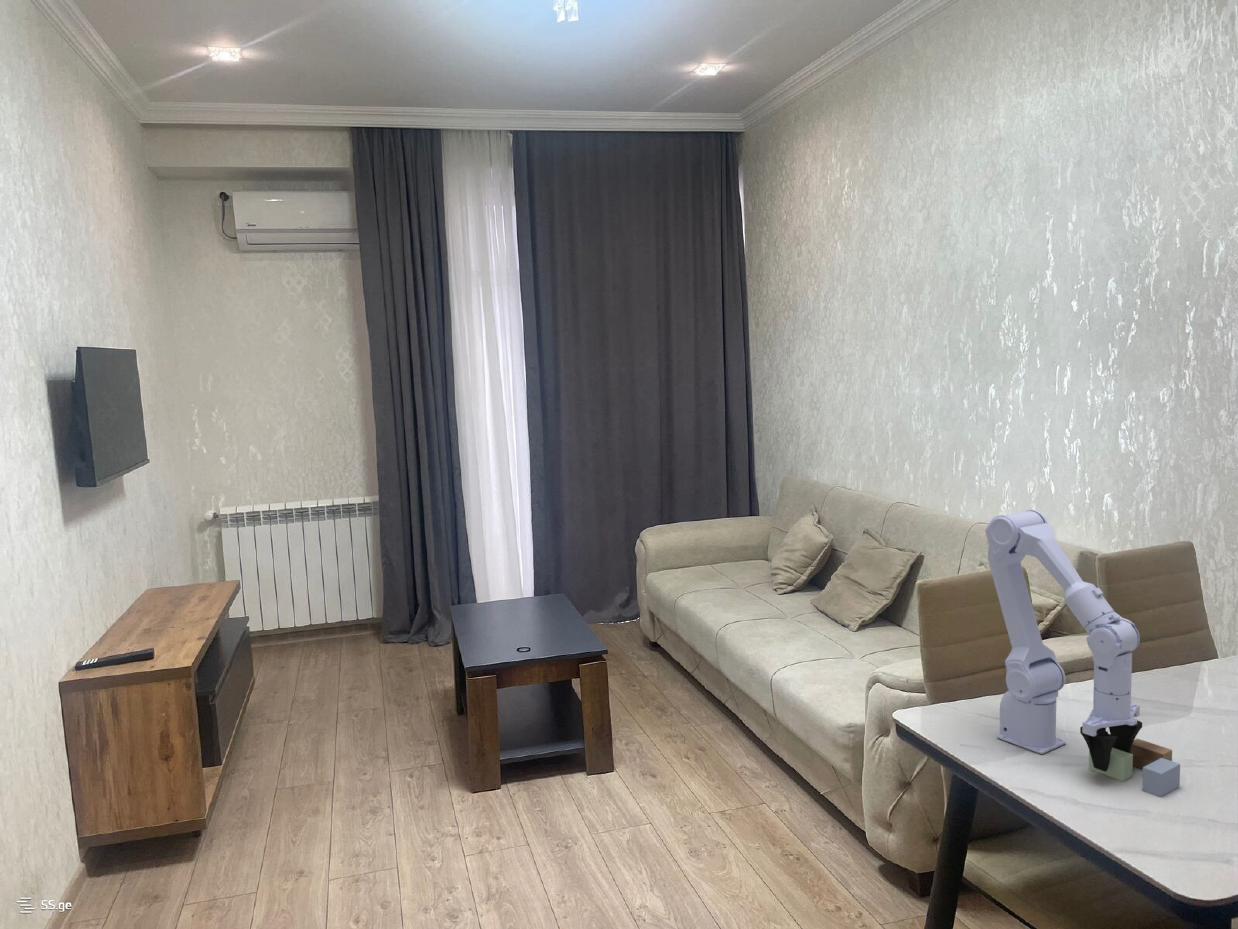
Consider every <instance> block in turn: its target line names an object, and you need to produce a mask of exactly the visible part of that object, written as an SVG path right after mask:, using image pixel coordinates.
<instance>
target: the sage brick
mask: <svg viewBox="0 0 1238 929" xmlns="http://www.w3.org/2000/svg"><path fill="white" fill-rule="evenodd" d="M1088 751H1089V750H1088ZM1133 767H1134V766H1133V754H1130V753H1127V752H1124V751H1121V750H1118V749H1115V748H1112V751H1111V755H1110V762H1109V767H1108V770H1107V771H1102V770H1099V769H1096V768H1094V766H1093V762H1092V758H1091V754H1090V751H1089V752H1088V770H1091V771H1093V772H1096V773H1099V774H1101V775H1104V776H1107V777H1110V778H1113V779H1114V780H1118V781H1121V782H1124V781H1127V780H1129V779H1130V778H1133V769H1134V768H1133Z"/></svg>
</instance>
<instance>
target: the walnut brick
mask: <svg viewBox="0 0 1238 929" xmlns="http://www.w3.org/2000/svg"><path fill="white" fill-rule="evenodd" d="M1130 754H1133V767H1135V768H1137V769H1141V770H1143V767H1145V766H1147V765H1149V764H1150V763H1152V762H1154V761H1156V760H1158V759H1160V758H1164V759H1167V760H1170V761H1173V749H1171V748H1168V747H1164V746H1161V745H1159V744H1155V743H1153V742H1149V741H1147V740H1144V739H1143V740H1142V739H1140V738H1135V739H1134V741H1133V744H1132V747H1131V750H1130Z"/></svg>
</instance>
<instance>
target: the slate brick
mask: <svg viewBox="0 0 1238 929" xmlns="http://www.w3.org/2000/svg"><path fill="white" fill-rule="evenodd" d="M1180 779H1181V763H1179V762H1174V761H1173V760H1172V761H1170V760H1167V759H1164V758H1160V759H1158V760H1156V761H1154V762H1152V763H1150V764H1149V765H1147V766H1145V767H1143V769H1142V782H1141V783H1142V786H1141V790H1142V791H1144V792H1146V793H1149V794H1152V795H1154V796H1157V797H1160V798H1161V797H1164V796H1165V795H1167V794H1169V793H1171V792H1173V791H1174V790H1176V789H1179V787H1180V785H1181V783H1180V782H1181V780H1180Z"/></svg>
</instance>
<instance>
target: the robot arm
mask: <svg viewBox="0 0 1238 929" xmlns="http://www.w3.org/2000/svg"><path fill="white" fill-rule="evenodd" d="M984 532H985V534H986V535H985V536H986V538H987V543H988V549H987V561H988V565H989V567H990V572H991V575H992V580H993V583H994V586H995V590H996V593H997V598H998V601H999V604H1000V605H999V606H1000V608H1001V612H1002V616H1003V619H1004V624H1005V627H1006V631H1007V634H1008V638H1009V643H1010V646H1011V650H1010V652H1009V654H1008V656H1007V657H1006V659H1005V661H1004V664H1005V668H1006V669H1005V670H1006V676H1005V683H1006V687H1007V689H1008V690H1007V691H1006V692H1005V693H1004V694H1003V696H1002V697H1001V700H1000V703H999V734H997V735H996V737H997V739H999V740H1002V741H1004V742H1007V743H1011V744H1014V745H1016V746H1018V747H1021V748H1024V749H1026V750H1029V751H1032V752H1034V753H1037V754H1039V755H1043V754H1046V753H1048V752H1050V751H1052V750H1054V749H1057V748H1059V747H1061V746H1064V745H1066V744H1067V742H1066V740H1065V739H1061V738H1059V737H1057V698H1058V697H1059V691H1061V690H1062V689H1063V687H1064V686H1065V684H1066V674H1065V671H1064V669H1063V667H1062V666H1061V665H1060V662H1059V661H1058V660H1057V657H1056V654H1055V651H1054V650H1052V649H1051V648H1049V646H1046V645H1045V644H1044V642H1043V639H1042V636H1041V630H1040V628H1039V624H1038V622H1037V618H1036V614H1035V611H1034V610H1035V609H1034V606H1033V603H1032V600H1031V597H1030V596H1031V595H1030V592H1029V589H1028V584H1027V581H1026V578H1025V574H1024V570H1023V567H1022V561H1023V559H1024V558H1025V557H1026V556H1031V557H1034V558H1036V559H1037V560H1038V561H1039V562H1040V563H1041V565H1042V566H1043V567H1044V568H1045V569H1046V570H1047V572H1048V573H1049V574H1050V575H1051V576H1052V577H1053V579H1054V580H1055V581H1056V582H1057V583H1058V585H1060V588H1062V589H1063V591H1065V592H1064V593H1065V594H1064V603H1065V604H1066V606H1067V607H1068V609H1070V611H1071V613H1072V614H1073V615H1074V617H1075V618H1076V619H1077V620H1078V622H1079V623H1080V625H1081V626H1082V628H1083V629H1084V630H1085V631H1086V632H1087V634H1088V636H1086V644H1087V645H1088V649H1089V650H1090V651H1091V653H1092V662H1093V695H1092V699H1093V702H1092V703H1093V704H1092V705H1093V706H1092V710H1091V711H1090V713H1089V715H1088V717H1087V718H1086V720H1085V721H1083V722H1082V726H1080V730H1079V731H1080V734H1081V736H1082V738H1083V739H1084V741H1085V743H1086V745H1087V747H1088V749H1089V750H1088V751H1090V754H1091V758H1092V762H1093V766H1094V768H1096V769H1099V770H1102V771H1107V770H1108V767H1109V762H1110V755H1111V751H1112V748H1115V749H1118V750H1121V751H1124V752H1127V753H1130V750H1131V747H1132V744H1133V741H1134V740H1135V739H1136V737H1137V736H1138V734H1139V732H1140V731H1141V729H1142V728H1143V722H1142V721H1140V720H1138V719H1137V718H1138V717H1139V716H1140V715H1141V714H1140V713H1141V712H1140V710H1141V709H1140V708H1141V707H1140V706H1141V705H1138V704H1135V703H1133V702H1132V671H1133V651H1135V650H1136V649H1137V648H1138V647H1139V644H1140V641H1141V636H1140V633H1139V630H1138V629H1137V628H1136V625H1135V623H1133V622H1132V621H1131V620H1130V619H1127V618H1123V617H1122V616H1121V615H1120V614H1118V613H1117V612H1115V610H1114V608H1112V606H1111V605H1110V604H1109V602H1108V601H1107V600H1106V598H1105V597H1104V596H1103V595H1104V592H1103V591H1102V590H1101V588H1099V587H1096V586H1095V584H1094V583H1090V582H1086V581H1083V579H1082V577H1081V576H1080V574H1079V573H1078V572H1077V570H1076V569H1075V567H1074V565H1073V563H1072V562H1071V561H1070V559H1069V557H1067V555H1066V553H1065V552H1064V551H1063V549H1062V547H1061V546H1060V544H1059V543H1058V541H1057V540H1056V538H1055V534H1054V532H1055V531H1054V528H1053V526H1052V525H1051V523H1049V522H1048V520H1047V518H1046V516H1045V515H1044V514H1043V513H1042V512H1040V511H1038V510H1035V509H1027V510H1025V511H1020V512H1016V513H1009V514H998V515H995V516H994V517H993V518H992V519H991V521H990V522H989V523H988V525H987V526H986V528H985V530H984ZM1107 728H1108V729H1109V731H1108V730H1107Z"/></svg>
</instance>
